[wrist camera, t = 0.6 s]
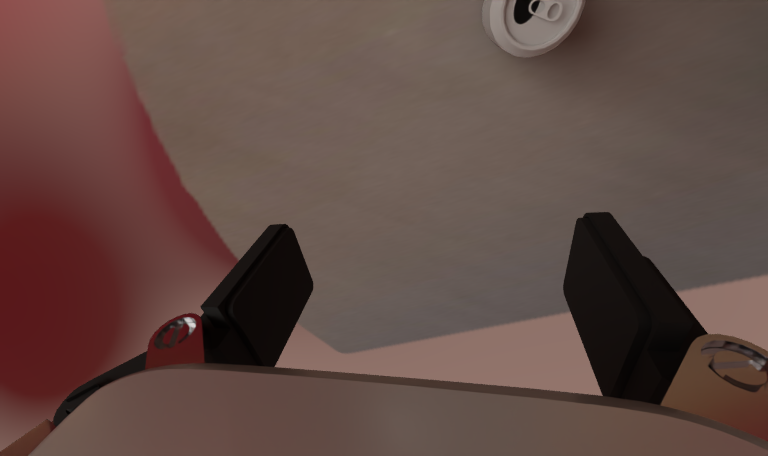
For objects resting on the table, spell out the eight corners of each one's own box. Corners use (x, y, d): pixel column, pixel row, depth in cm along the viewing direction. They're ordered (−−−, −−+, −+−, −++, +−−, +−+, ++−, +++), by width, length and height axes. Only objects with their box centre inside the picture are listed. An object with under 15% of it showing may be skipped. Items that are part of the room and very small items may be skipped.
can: (499, -46, 33) (519, -69, 23) (568, -24, 33) (617, -39, 23) (470, 36, 37) (476, 45, 27) (531, 55, 37) (559, 71, 27)
